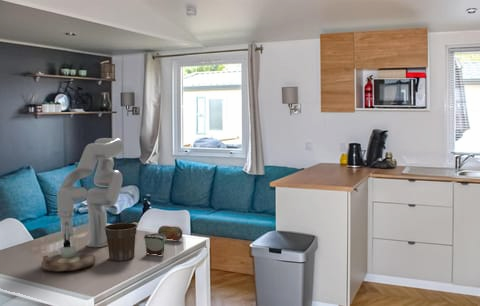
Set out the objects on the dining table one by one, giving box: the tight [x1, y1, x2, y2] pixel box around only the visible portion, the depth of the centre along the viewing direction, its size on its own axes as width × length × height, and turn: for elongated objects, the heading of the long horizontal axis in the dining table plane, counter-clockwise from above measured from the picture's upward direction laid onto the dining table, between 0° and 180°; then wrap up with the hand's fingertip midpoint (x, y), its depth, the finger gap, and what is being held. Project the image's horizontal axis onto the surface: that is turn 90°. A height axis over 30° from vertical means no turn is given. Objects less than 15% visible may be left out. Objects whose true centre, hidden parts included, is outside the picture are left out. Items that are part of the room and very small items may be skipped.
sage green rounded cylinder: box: [59, 245, 77, 259], centre depth 224 cm, size 7×7×4 cm
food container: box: [143, 232, 166, 256], centre depth 237 cm, size 12×6×10 cm, turn 65°
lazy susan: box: [41, 252, 96, 272], centre depth 218 cm, size 24×24×4 cm
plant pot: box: [104, 222, 138, 262], centre depth 231 cm, size 16×16×16 cm
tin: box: [157, 225, 183, 241], centre depth 263 cm, size 15×3×8 cm, turn 67°
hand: (67, 249), depth 231 cm, fingers closed
